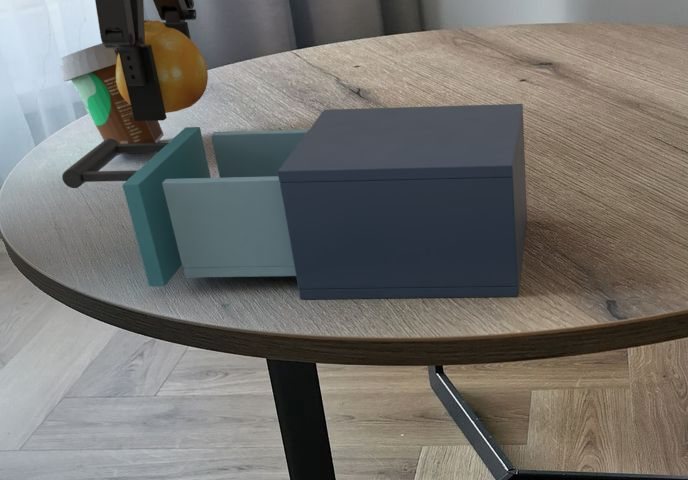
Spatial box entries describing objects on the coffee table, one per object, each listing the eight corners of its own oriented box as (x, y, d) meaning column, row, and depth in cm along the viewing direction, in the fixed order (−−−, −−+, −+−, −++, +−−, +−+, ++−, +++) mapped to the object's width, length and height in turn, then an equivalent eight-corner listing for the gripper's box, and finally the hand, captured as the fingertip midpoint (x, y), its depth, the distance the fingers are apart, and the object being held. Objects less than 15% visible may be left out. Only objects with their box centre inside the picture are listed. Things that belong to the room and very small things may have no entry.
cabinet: (300, 299, 68) (277, 171, 63) (340, 222, 80) (323, 109, 75) (518, 296, 67) (512, 165, 62) (527, 219, 79) (522, 103, 74)
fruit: (118, 73, 93) (106, 7, 86) (205, 70, 95) (200, 5, 88) (124, 137, 89) (111, 73, 82) (214, 132, 91) (209, 69, 85)
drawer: (73, 287, 70) (41, 184, 66) (140, 219, 80) (115, 127, 76) (345, 283, 68) (330, 177, 64) (377, 214, 79) (365, 119, 75)
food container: (109, 152, 102) (66, 59, 99) (165, 133, 103) (124, 40, 100) (91, 166, 91) (43, 61, 87) (154, 145, 92) (109, 40, 88)
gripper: (100, -164, 69) (166, 140, 81) (199, -176, 88) (241, 74, 99) (1, -160, 70) (80, 141, 82) (119, -173, 88) (171, 75, 100)
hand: (168, 104), depth 90 cm, fingers closed on fruit, 8 cm apart
